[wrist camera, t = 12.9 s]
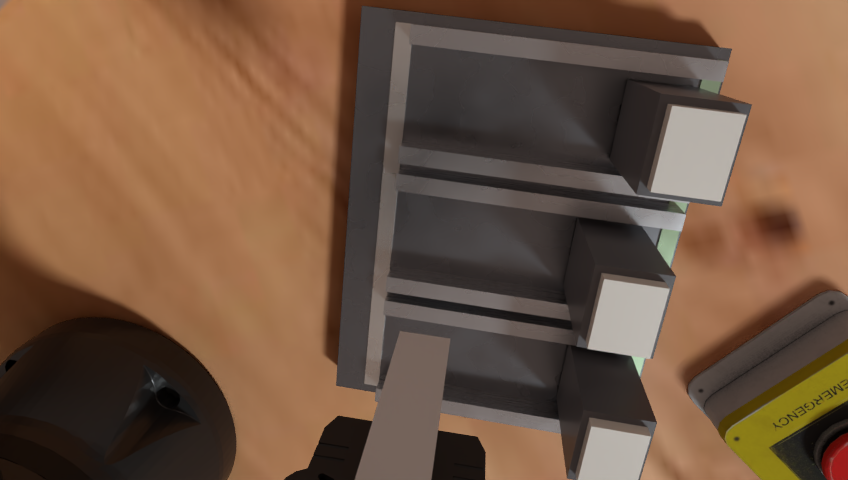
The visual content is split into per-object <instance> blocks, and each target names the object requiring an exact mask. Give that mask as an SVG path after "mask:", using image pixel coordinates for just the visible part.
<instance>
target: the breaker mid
mask: <svg viewBox="0 0 848 480" xmlns="http://www.w3.org/2000/svg"><path fill="white" fill-rule="evenodd" d="M675 278H676V276H675V274H674V273H673V271H672V270H671V268H670V267H669V265H668V264H667V262H666V261H665V260H664V258H663V257H662V255H661V254H660V252H659V251H658V249H657V248H656V246H655V245H654V243H653V242H652V240H651V239H650V237H649V236H648V234H647V233H646V231H645V230H644V228H643V227H642V226H637V225H630V224H623V223H616V222H609V221H602V220H595V219H588V218H581V217H578V218H577V223H576V228H575V232H574V237H573V242H572V246H571V251H570V256H569V261H568V265H567V270H566V275H565V280H564V284H563V287H564V291H565V296H566V301H567V305H568V310H569V314H570V319H571V323H572V328H573V333H574V337H575V342H576V346H577V347H582V348H587V349H591V350H598V351H604V352H610V353H616V354H623V355H629V356H635V357H641V358H648V359H650V358H651V359H653V356H654V352H655V349H656V345H657V341H658V338H659V334H660V331H661V327H662V324H663V320H664V317H665V313H666V310H667V306H668V303H669V299H670V296H671V292H672V288H673V285H674V281H675Z"/></svg>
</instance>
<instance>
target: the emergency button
mask: <svg viewBox="0 0 848 480" xmlns="http://www.w3.org/2000/svg"><path fill="white" fill-rule="evenodd" d="M688 394H689V396H690V397H691V399H692V401H693V402H694V403H695V404H696V405H697V406H698V408H699V409H700V410H701V411H702V412H703V413H704V414H705V415H706V416H707V417H708V418H709V419H710V420H711V421H712V423H713V424H714V426H715V427H716V429H717V430H718V432H719V434H720V436H721V437H722V439H723V440H724V441H725V443H726V444H727V445H728V446H729V447H730V448H731V449H732V450H733V451H734V452H735V453H736V454H737V455H738V456H739V457H740V458H741V459H742V460H743V461H744V462H745V463H746V464H747V465H748V467H749V468H750V469H751V470H752V471H753V472H754V473H755V474H756V475H757V476H758V477H759V478H760V479H761V480H848V296H846V295H845V294H843V293H842V292H840V291H831V290H828V291H825V292H822V293H820V294H818V295H816V296H815V297H813V298H812V299H810V300H809V301H807V302H806V303H804V304H803V305H801V306H800V307H798V308H797V309H795V310H794V311H792V312H791V313H789V314H788V315H786V316H785V317H783V318H782V319H780V320H779V321H777V322H776V323H774V324H773V325H771V326H770V327H768V328H767V329H765V330H764V331H762V332H761V333H759V334H758V335H756V336H755V337H753V338H752V339H750V340H749V341H747V342H746V343H744V344H743V345H741V346H740V347H739V348H737V349H736V350H734V351H733V352H731V353H730V354H728V355H727V356H725V357H724V358H722V359H721V360H719V361H718V362H716V363H715V364H713V365H712V366H710V367H709V368H707V369H706V370H704V371H703V372H701V373H700V374H698V375H697V376H695V377H694V378H693V379H692V380H691V382H690V383H689V384H688Z"/></svg>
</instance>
